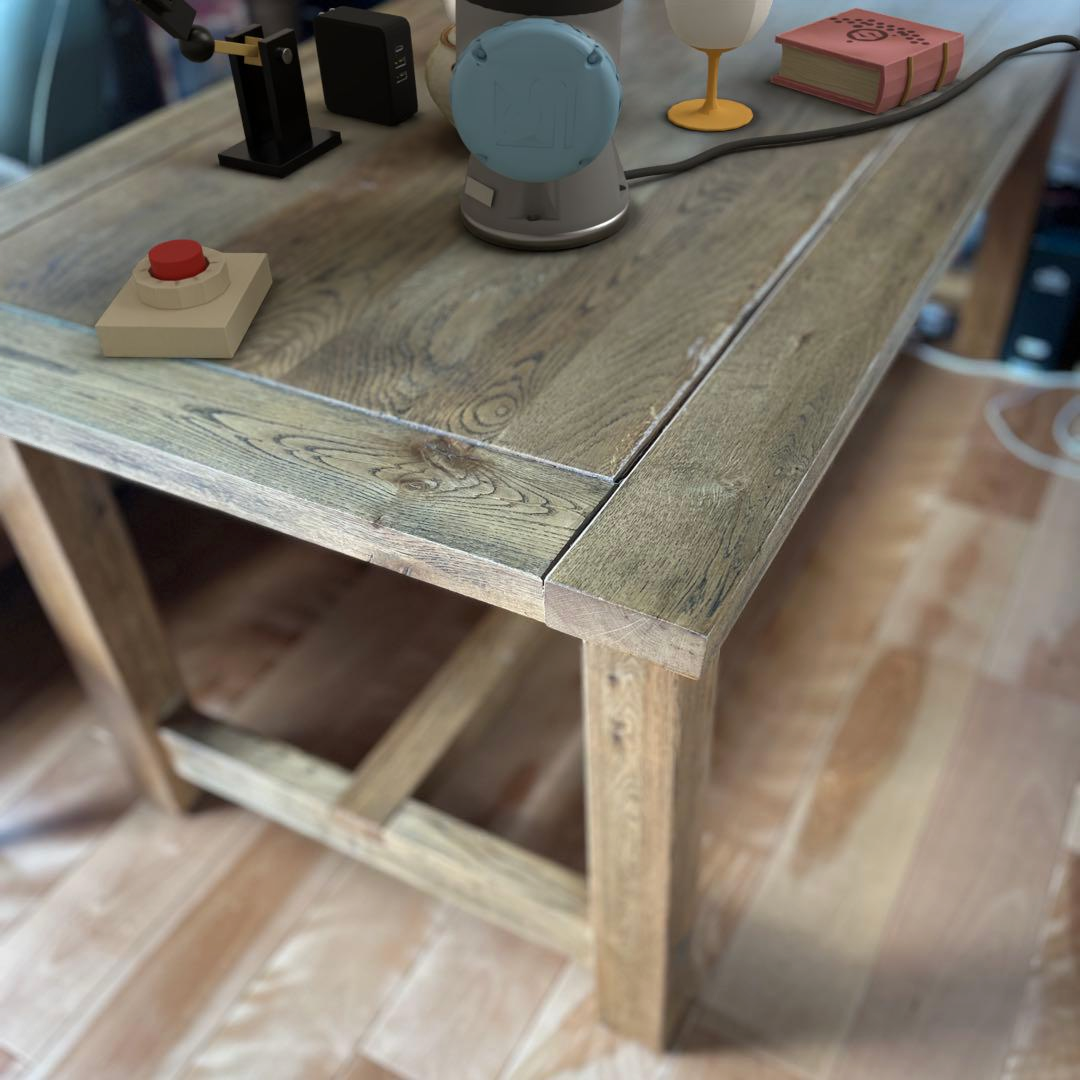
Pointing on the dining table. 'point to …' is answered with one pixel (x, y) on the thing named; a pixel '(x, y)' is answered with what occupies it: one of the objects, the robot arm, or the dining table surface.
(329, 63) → the electronic device
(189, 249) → the power button
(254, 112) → the lamp switch
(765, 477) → the dining table surface
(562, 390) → the dining table surface
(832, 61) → the book
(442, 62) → the sugar bowl
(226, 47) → the lever
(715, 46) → the cup
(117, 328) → the power block
